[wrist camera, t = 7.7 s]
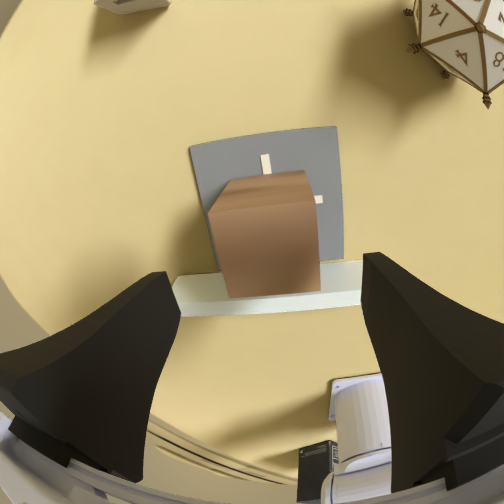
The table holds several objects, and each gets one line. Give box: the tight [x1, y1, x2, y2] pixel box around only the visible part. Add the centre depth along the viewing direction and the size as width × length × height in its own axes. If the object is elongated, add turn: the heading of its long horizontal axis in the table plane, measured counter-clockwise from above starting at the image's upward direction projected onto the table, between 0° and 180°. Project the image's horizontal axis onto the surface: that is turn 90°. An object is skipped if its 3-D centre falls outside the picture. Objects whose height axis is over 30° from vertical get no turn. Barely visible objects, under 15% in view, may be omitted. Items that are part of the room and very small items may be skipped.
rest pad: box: [190, 126, 344, 270], centre depth 18 cm, size 9×9×1 cm
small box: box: [297, 440, 339, 504], centre depth 32 cm, size 11×6×10 cm, turn 43°
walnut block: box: [208, 170, 321, 298], centre depth 15 cm, size 4×4×6 cm
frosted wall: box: [172, 259, 363, 317], centre depth 19 cm, size 1×16×4 cm, turn 99°
